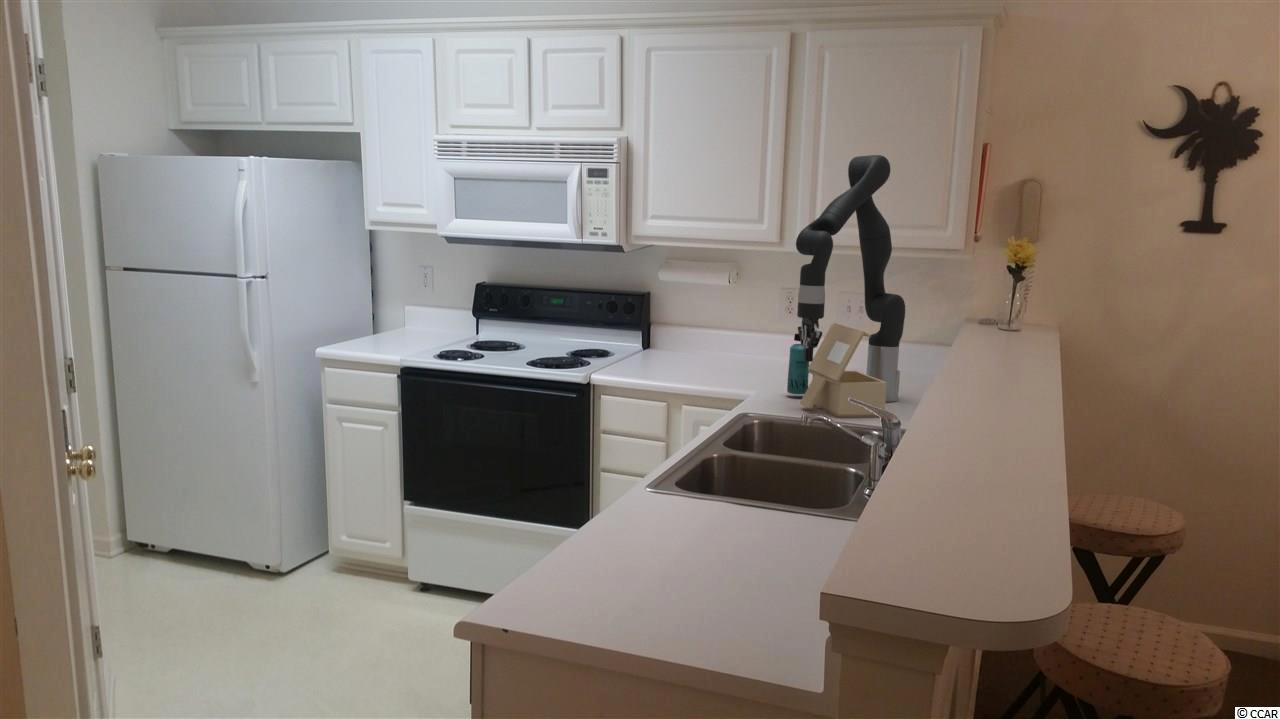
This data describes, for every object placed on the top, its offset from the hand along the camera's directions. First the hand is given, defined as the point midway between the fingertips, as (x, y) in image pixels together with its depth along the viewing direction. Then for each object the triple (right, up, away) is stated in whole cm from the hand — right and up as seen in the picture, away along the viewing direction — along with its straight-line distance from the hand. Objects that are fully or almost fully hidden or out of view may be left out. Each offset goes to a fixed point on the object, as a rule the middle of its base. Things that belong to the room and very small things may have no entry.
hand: (808, 361), depth 271 cm
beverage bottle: (+1, -12, +23) cm, 26 cm away
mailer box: (+12, -14, +5) cm, 20 cm away
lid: (+8, -3, +2) cm, 8 cm away
